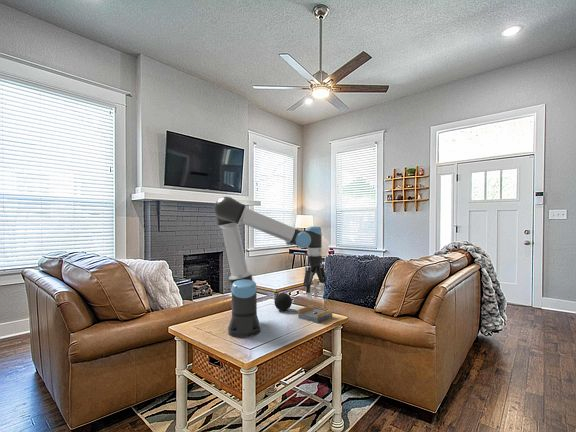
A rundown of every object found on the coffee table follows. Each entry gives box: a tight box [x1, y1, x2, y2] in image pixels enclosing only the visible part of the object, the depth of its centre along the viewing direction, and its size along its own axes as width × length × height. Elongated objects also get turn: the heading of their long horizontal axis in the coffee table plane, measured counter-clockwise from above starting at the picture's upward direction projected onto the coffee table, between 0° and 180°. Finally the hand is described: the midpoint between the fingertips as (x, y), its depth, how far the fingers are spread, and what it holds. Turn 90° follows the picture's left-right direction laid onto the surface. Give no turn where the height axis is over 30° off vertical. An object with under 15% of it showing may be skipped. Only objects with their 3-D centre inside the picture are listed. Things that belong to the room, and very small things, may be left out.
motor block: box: [297, 304, 333, 324], centre depth 169 cm, size 13×13×4 cm
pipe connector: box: [311, 277, 323, 299], centre depth 169 cm, size 10×10×10 cm
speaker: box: [273, 292, 293, 312], centre depth 182 cm, size 10×10×10 cm
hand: (315, 296), depth 169 cm, fingers closed on pipe connector, 10 cm apart
